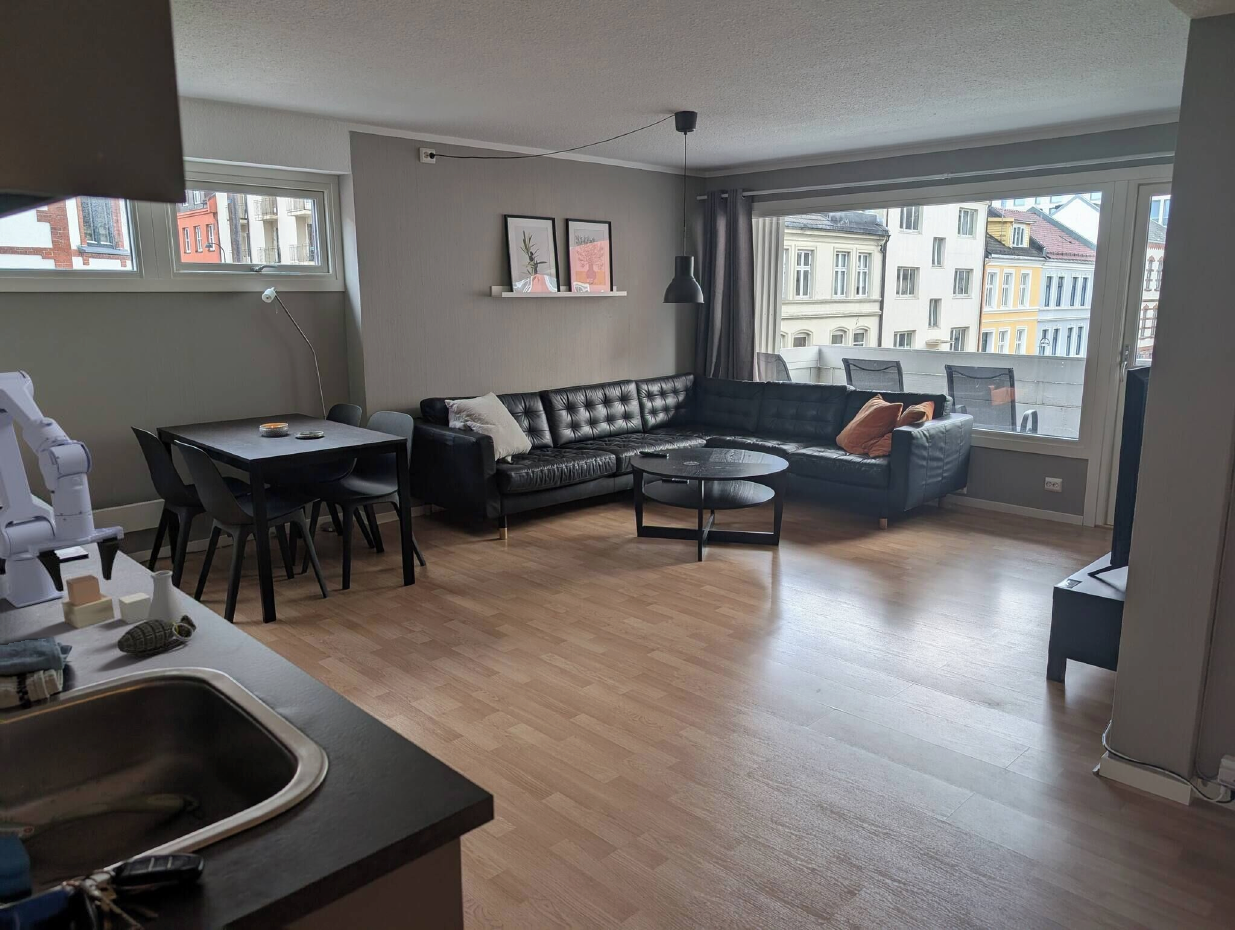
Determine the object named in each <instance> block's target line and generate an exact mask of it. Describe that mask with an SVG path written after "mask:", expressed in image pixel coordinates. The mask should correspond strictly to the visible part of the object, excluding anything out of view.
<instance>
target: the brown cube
mask: <svg viewBox="0 0 1235 930" xmlns="http://www.w3.org/2000/svg"><path fill="white" fill-rule="evenodd" d="M65 582H66V583H65V584H66V589H67V596H68V600H69V601H70V602H71V603H73V604H74V605H76V606H79V605H82V604H86V603H90V602H94V601H98V600H101V594H102V593H101V588H100V584H99V583H100V582H99V578H97V577H96V576H95V575H93V574H86V575H81V576H77V577H73V578H69V579H65ZM100 593H101V594H100Z"/></svg>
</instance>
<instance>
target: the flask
mask: <svg viewBox="0 0 1235 930" xmlns="http://www.w3.org/2000/svg"><path fill="white" fill-rule="evenodd" d="M172 575H173V571H171V570H158V571H155V572H153V573H152V574H150V578H151V579H152V581H153V582H152V583H153V596H152V599H151V607H150V611H149V614H148V618H147V619H146V621H149V620H155V619H161V620H163V621H164V622H171V623H178V622H180V620H181V618H182V616H183V615H187V616H189V617H190V619H191V620H192V621H193V619H192V618H191V616H190V614H189V613H188V611H187V610H186V608H185V606H184V605H183V604H182V602H181V600H180V598H179V596H178V594H177V592H176V590H175V588H174V585H173V582H172ZM181 622H182V621H181Z"/></svg>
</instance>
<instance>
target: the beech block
mask: <svg viewBox="0 0 1235 930" xmlns="http://www.w3.org/2000/svg"><path fill="white" fill-rule="evenodd" d="M100 594H101V600H98V601H94V602H90V603H86V604H82V605H79V606H76V605H74V604H73V603H71V602H70V601H69V599H67V600H63V601H61V605H62V606H61V607H62V612H63V617H64V622H65V623H68V624H70V625H71V626H73V627H75V628H77V629H82V628H85V627H88V626H89V627H90V626H93V625H95V624H99V623H101V622H103V623H104V622H105V621H109V620H114V619H116V617H115V611H114V606H113V598H111V597H109V596H107V595H104V594H103V593H101V592H100Z"/></svg>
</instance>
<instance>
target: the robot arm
mask: <svg viewBox="0 0 1235 930" xmlns="http://www.w3.org/2000/svg"><path fill="white" fill-rule="evenodd" d="M34 394H35V392H34V384H33V381H32V379H31V377H30V375H28V374H27V373H26V372H25V371H24V370H18V371H10V372H0V502H1V506H2V508H0V558H1V559H2V560H3V559H5V564H4V570H5V576H6V580H7V587H8V593H5V594H3V597H4V599H6V600H7V601H8V602H9V603H11V604H12V605H13V606H15V608H22V607H26V606H29V605H30V606H31V605H35V604H38V603H42V602H47V601H51V600H54V599H60V598H64V597H65V593H64V592H65V590H64V589H65V588H64V583H63V577H62V574H61V557H60V556H58V553H57V551H62V550H66V549H67V550H68V549H70V548H76V547H81V546H85V545H90V544H96V545H97V550H98V553H99V558H100V564H101V565H100V566H101V574H102V578H103V579H104V580H106V581H111V580H112V574H113V573H112V571H113V567H114V566H113V565H114V561H115V559H116V556H117V554H118V551H119V549H120V546H121V541H120V540H119V539H123V538H125V537H124V536H125V535H124V527H121V526H120V525H117V526H112V527H105V528H96V529H95V522H94V517H93V510H92V503H91V495H90V491H89V490H90V489H89V483H88V477H87V475H88V474H89V473H90V472H91V470H92V458H91V454H90V451H89V450H88V447H87V446H86V445H85V443H84V442H83V441H77V440H76V439H70V437H69V436H68V435H67V434H66V433H65V431H64V430H63V429H62V428H61V427H60V425H59V424H58V423H57V421H56V420H54V419H53V418H50V417H44V415H43V413H42V412H41V410H40V409H39V407H38V405H37V404H36V402H35V401H34ZM14 421H16V422H17V423H18V424H19V425H20V426H21V427H22V428H23V429H22V433H21V434H22V435H21V436H22V439H23V440H24V442H25V443H27V444H28V445H27V446H29V448H30V449H31V450H32V452H34V454H35V455H36V457H38V467H39V469H40V470H39V471H40V472H41V474H42V476H43V479H44V484H45V487H46V489H48V490H49V492H50V493H49V494H50V498H51V500H50V501H51V504H52V511H53V515H52V512H51V510H50V509H49V508H46V507H44V506H42V505H41V504H40V505H39V504H37V503H35V502H34V500H33V497H32V493H31V489H30V486H29V482H28V477H27V475H26V470H25V467H24V462H23V459H22V455H21V451H20V448H19V444H18V439H17V437H16V433H15V429H14V428H15V427H14V425H13V423H14ZM28 518H29V519H28ZM30 518H32V519H30ZM24 519H28V520H24ZM19 520H24V521H20V522H16V523H15V522H14V521H19ZM10 522H14V523H10ZM9 523H10V524H9Z"/></svg>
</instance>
